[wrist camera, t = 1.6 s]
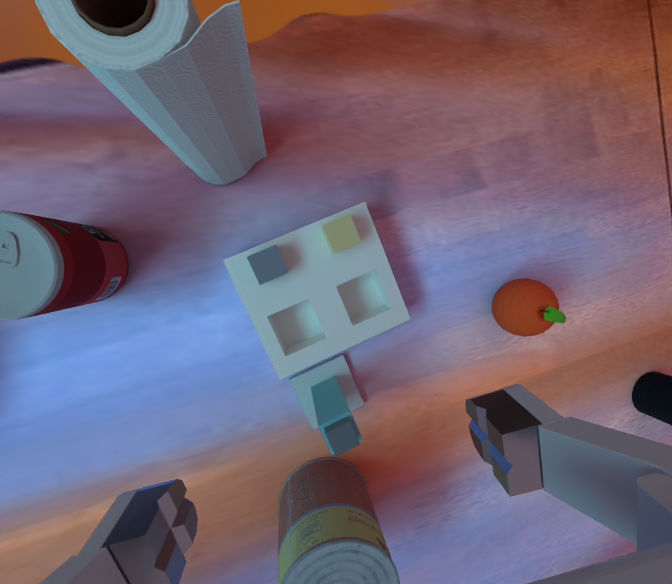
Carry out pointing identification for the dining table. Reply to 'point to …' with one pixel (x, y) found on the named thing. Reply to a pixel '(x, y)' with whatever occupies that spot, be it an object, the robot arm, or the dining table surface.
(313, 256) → the block
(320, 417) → the plug
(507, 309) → the clementine
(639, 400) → the insulated water bottle
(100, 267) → the canned food
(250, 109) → the paper towel roll
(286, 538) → the canned food
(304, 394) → the mat
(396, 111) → the dining table surface
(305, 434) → the dining table surface
